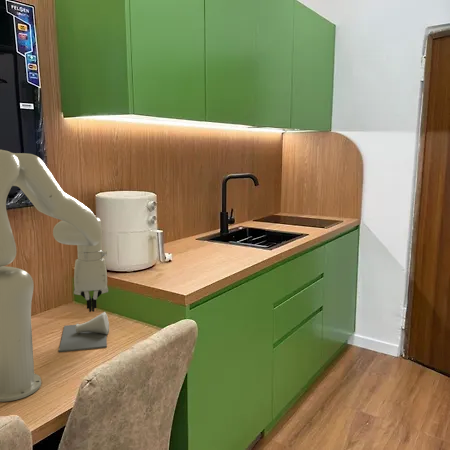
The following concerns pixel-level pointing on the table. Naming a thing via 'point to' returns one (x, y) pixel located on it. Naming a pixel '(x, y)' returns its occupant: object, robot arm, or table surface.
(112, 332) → the table surface
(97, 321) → the flask
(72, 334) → the mat
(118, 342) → the table surface
